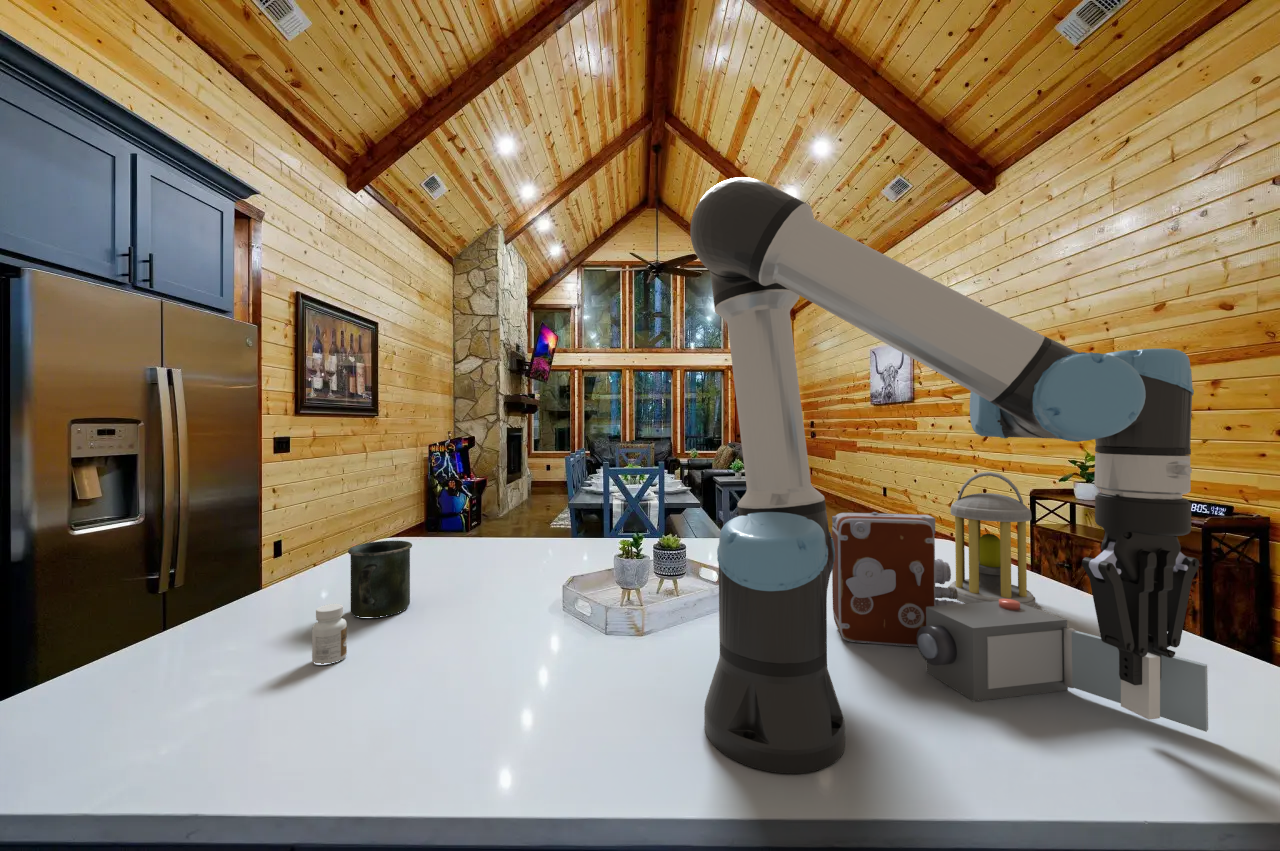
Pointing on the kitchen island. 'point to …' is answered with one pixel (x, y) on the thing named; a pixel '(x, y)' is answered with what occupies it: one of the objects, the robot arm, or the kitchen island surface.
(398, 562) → the mug
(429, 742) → the kitchen island surface
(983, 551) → the lantern
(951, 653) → the camera block
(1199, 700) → the side door
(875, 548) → the cine camera
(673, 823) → the kitchen island surface
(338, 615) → the pill bottle
